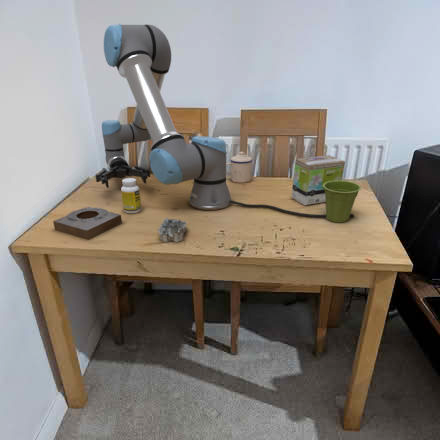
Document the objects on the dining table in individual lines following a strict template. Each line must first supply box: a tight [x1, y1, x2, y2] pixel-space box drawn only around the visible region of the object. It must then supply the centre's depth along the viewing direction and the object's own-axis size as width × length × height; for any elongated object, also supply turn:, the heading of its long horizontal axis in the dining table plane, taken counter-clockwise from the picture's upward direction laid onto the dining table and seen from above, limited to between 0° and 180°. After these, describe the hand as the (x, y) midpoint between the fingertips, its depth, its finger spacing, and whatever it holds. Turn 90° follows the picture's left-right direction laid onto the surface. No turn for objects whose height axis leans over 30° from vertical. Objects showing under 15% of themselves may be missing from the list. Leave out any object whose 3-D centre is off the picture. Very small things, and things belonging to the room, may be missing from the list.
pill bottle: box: [120, 177, 142, 214], centre depth 143 cm, size 6×6×11 cm
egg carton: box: [157, 217, 187, 243], centre depth 126 cm, size 11×8×4 cm
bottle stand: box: [52, 206, 123, 241], centre depth 134 cm, size 16×16×3 cm
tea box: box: [291, 154, 346, 206], centre depth 150 cm, size 15×10×15 cm, turn 114°
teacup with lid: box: [226, 151, 253, 184], centre depth 172 cm, size 12×9×12 cm
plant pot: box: [323, 180, 362, 223], centre depth 135 cm, size 12×12×11 cm
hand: (126, 181), depth 148 cm, fingers open, 13 cm apart
